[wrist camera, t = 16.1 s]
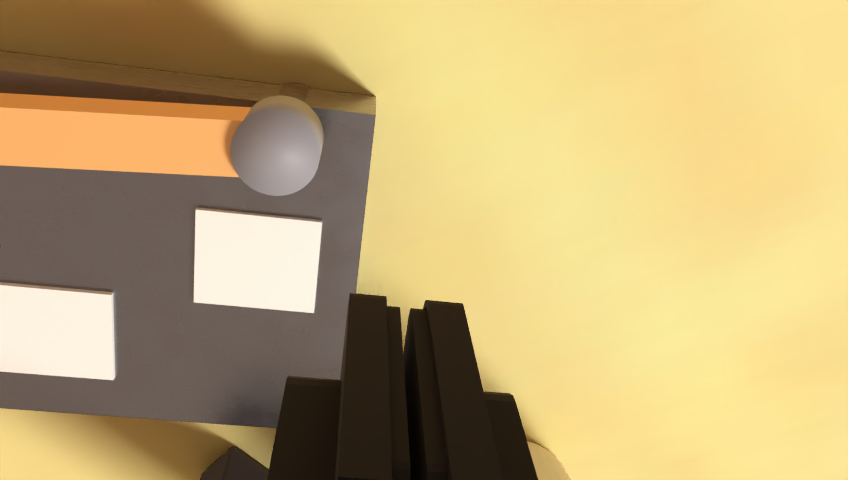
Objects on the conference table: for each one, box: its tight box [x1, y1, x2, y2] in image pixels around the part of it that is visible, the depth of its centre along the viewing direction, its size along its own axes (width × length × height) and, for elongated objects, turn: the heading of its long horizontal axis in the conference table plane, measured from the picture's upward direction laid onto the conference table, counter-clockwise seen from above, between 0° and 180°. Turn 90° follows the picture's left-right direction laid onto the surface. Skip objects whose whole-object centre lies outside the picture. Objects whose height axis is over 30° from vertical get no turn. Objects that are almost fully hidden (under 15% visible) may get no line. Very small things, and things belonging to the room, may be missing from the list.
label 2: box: [194, 207, 322, 313], centre depth 37 cm, size 6×5×1 cm
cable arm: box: [0, 93, 324, 196], centre depth 31 cm, size 20×4×3 cm, turn 86°
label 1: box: [0, 282, 115, 380], centre depth 38 cm, size 6×5×1 cm
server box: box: [0, 51, 376, 428], centre depth 38 cm, size 22×18×6 cm
